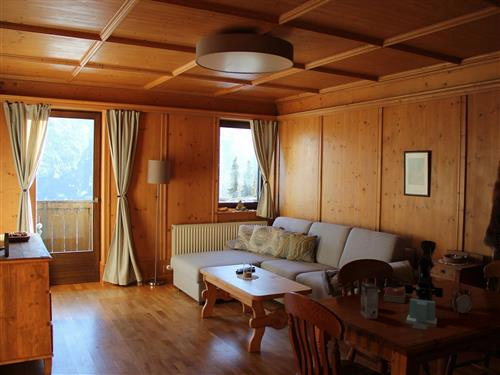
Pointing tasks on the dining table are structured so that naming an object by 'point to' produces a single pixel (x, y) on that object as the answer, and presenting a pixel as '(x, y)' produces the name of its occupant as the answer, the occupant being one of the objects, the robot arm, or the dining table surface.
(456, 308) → the alarm clock
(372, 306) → the coffee box
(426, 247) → the robot arm
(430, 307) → the T block
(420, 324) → the mat
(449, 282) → the dining table surface
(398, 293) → the hardcover book
